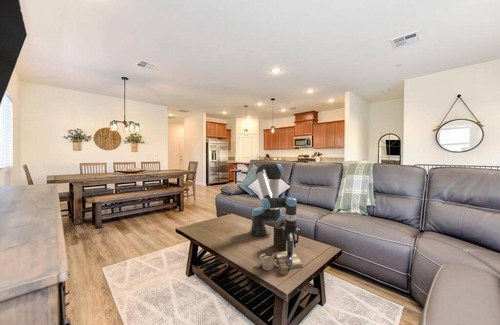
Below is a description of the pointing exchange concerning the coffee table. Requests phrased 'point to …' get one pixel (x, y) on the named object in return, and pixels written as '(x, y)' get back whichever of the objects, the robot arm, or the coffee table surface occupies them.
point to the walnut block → (283, 268)
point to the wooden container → (280, 236)
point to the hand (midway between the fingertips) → (289, 251)
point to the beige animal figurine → (267, 262)
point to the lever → (289, 253)
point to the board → (282, 259)
